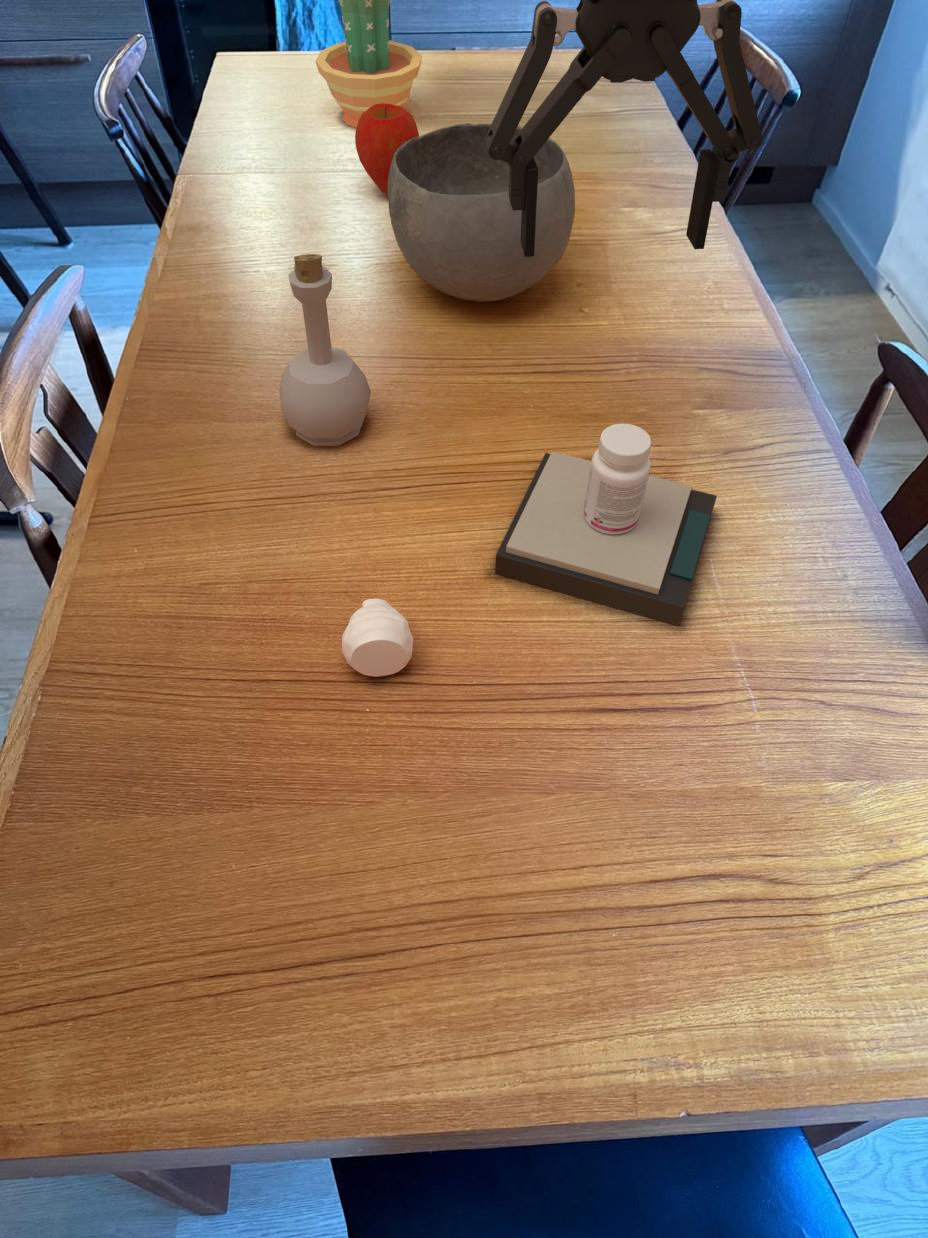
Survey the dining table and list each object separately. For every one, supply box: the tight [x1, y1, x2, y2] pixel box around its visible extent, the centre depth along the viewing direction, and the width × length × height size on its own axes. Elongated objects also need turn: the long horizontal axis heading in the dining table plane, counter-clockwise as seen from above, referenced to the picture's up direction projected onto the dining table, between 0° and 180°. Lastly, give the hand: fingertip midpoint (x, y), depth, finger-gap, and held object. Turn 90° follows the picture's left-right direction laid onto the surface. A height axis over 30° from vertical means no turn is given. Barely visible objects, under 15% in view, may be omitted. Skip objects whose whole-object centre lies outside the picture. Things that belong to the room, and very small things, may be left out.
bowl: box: [386, 122, 576, 303], centre depth 100 cm, size 20×20×15 cm
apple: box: [354, 103, 420, 195], centre depth 116 cm, size 9×8×11 cm
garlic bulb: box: [341, 597, 414, 678], centre depth 69 cm, size 6×6×5 cm
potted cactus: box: [315, 0, 423, 128], centre depth 126 cm, size 15×15×25 cm
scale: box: [494, 451, 718, 627], centre depth 78 cm, size 16×14×3 cm
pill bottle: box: [584, 423, 652, 534], centre depth 73 cm, size 5×5×8 cm
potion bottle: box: [279, 253, 372, 447], centre depth 82 cm, size 9×9×18 cm
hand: (611, 245), depth 72 cm, fingers open, 13 cm apart
